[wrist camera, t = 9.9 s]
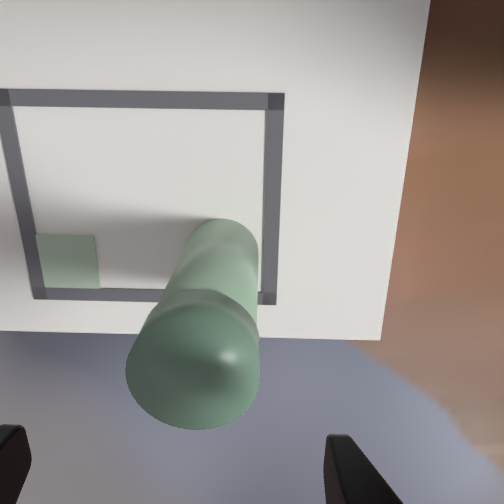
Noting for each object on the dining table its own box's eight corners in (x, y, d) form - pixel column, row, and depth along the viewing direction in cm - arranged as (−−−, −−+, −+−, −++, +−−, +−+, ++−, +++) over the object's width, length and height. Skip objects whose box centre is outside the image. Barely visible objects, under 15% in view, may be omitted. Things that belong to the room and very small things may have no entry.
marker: (262, 217, 17) (260, 322, 9) (260, 288, 18) (257, 431, 11) (182, 215, 17) (118, 318, 9) (185, 286, 18) (132, 427, 11)
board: (457, -259, 12) (502, -338, 10) (374, 328, 20) (389, 360, 17) (-210, -259, 13) (-316, -335, 10) (-46, 317, 20) (-86, 347, 18)
